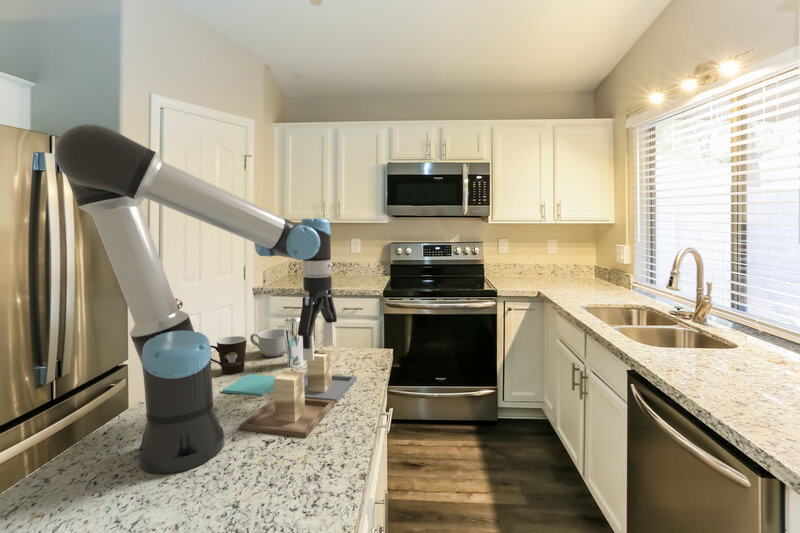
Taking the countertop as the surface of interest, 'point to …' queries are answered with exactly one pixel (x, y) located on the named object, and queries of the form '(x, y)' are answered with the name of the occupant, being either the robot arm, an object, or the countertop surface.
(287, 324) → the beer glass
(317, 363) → the letter block
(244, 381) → the teal mat
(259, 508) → the countertop surface
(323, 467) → the countertop surface
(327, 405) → the walnut tray
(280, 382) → the plain block
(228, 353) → the coffee mug
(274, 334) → the teacup
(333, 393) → the grey tray
